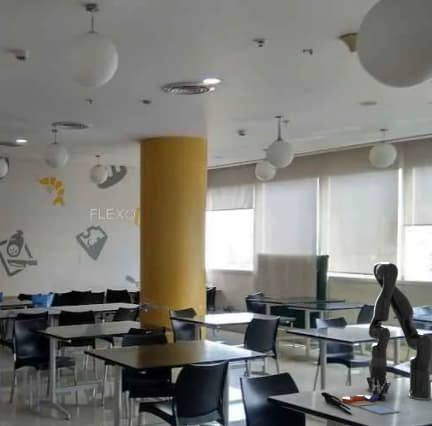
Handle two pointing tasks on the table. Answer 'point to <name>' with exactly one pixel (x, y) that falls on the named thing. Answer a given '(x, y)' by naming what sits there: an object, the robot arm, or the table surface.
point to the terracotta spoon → (353, 398)
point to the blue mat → (379, 409)
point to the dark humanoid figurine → (335, 401)
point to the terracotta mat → (359, 403)
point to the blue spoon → (373, 398)
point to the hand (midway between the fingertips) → (378, 399)
